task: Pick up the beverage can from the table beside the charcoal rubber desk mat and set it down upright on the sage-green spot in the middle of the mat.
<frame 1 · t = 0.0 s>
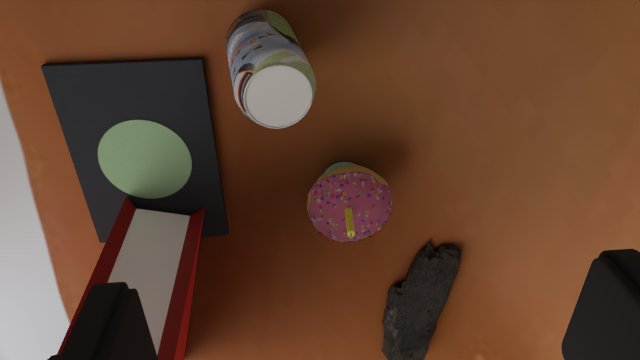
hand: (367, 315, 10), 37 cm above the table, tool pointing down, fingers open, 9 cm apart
beverage can: (268, 43, 44), on the table
desk mat: (147, 157, 49), on the table
cupcake: (344, 179, 52), on the table
book: (158, 291, 58), on the table, touching desk mat
wood: (411, 305, 64), on the table
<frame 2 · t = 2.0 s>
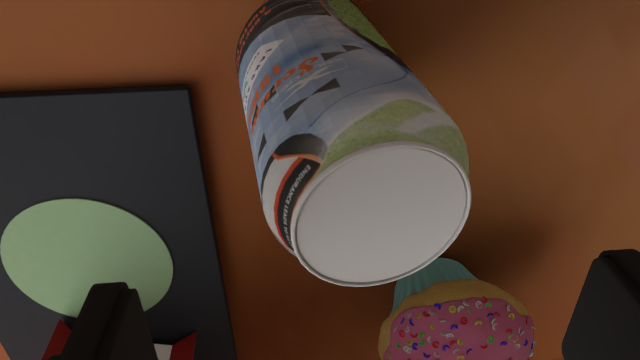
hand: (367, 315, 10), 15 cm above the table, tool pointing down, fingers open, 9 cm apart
beverage can: (319, 56, 22), on the table
desk mat: (93, 256, 28), on the table
cupcake: (433, 282, 31), on the table
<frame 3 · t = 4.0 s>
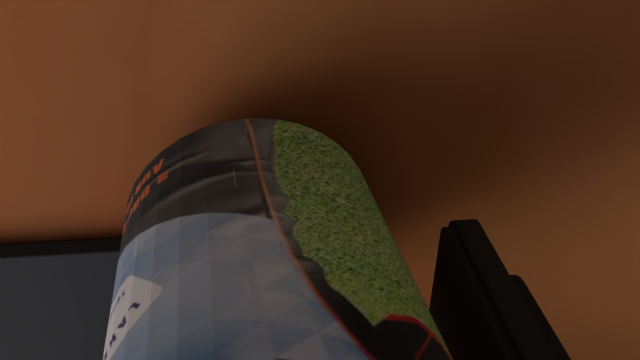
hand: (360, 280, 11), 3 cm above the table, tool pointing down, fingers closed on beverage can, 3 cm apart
beverage can: (279, 202, 14), on the table, touching gripper
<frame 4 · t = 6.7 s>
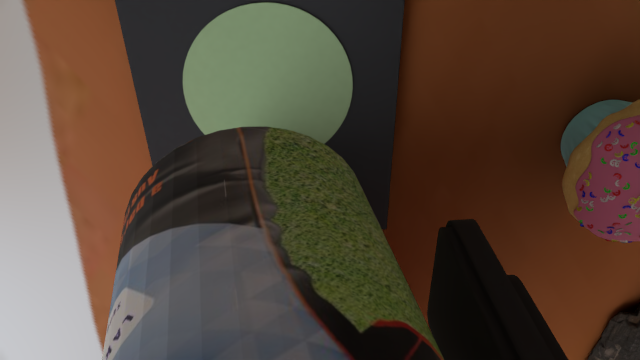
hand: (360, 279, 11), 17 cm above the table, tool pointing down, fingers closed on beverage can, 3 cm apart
beverage can: (277, 207, 14), point 14 cm above the table, touching gripper
desk mat: (269, 85, 27), on the table
cupcake: (599, 133, 30), on the table
wood: (631, 340, 41), on the table
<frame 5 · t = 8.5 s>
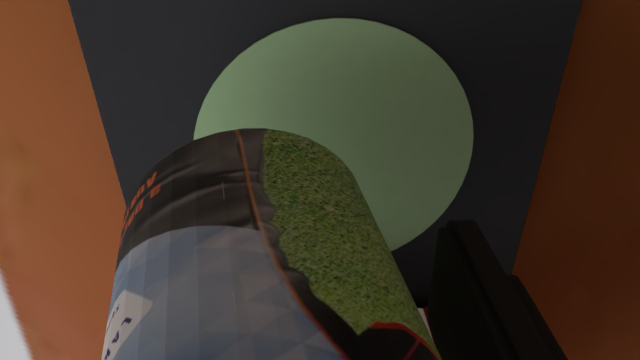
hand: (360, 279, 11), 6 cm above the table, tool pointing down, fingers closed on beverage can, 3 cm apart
beverage can: (276, 208, 14), point 3 cm above the table, touching gripper
desk mat: (333, 150, 16), on the table
when the fingers open (4 cm above the table, at t = 9.6 s): beverage can stays where it is, resting on desk mat.
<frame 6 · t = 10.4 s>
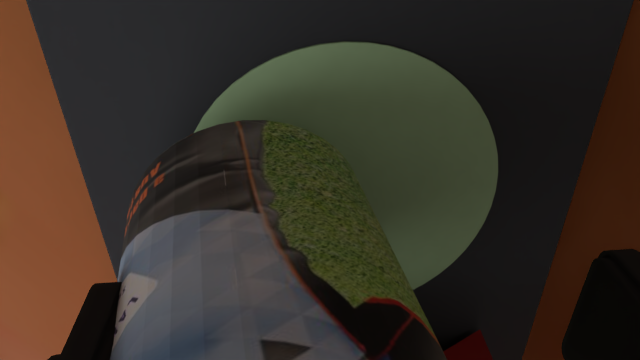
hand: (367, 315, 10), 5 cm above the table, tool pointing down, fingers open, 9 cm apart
beverage can: (276, 201, 14), point 1 cm above the table, touching desk mat
desk mat: (339, 185, 15), on the table
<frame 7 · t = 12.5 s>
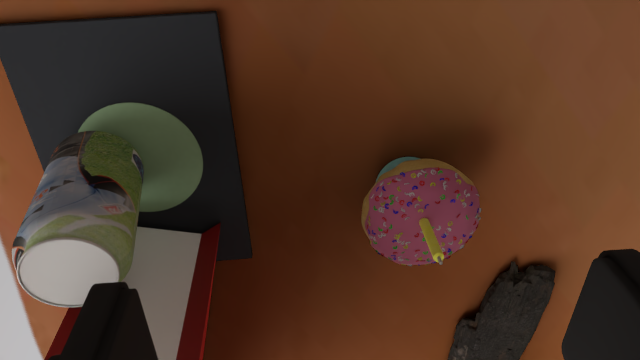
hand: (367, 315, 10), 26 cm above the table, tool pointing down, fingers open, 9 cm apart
beverage can: (114, 162, 36), point 1 cm above the table, touching desk mat
desk mat: (142, 156, 36), on the table
cupcake: (406, 180, 39), on the table
book: (162, 331, 45), on the table, touching desk mat
wood: (483, 341, 50), on the table
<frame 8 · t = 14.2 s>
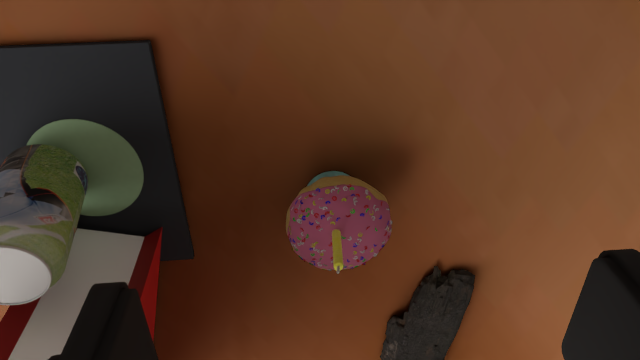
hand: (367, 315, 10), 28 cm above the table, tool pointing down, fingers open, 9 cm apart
beverage can: (62, 171, 39), point 1 cm above the table, touching desk mat
desk mat: (88, 166, 40), on the table
cupcake: (333, 192, 43), on the table
book: (113, 324, 49), on the table, touching desk mat
wood: (414, 337, 54), on the table
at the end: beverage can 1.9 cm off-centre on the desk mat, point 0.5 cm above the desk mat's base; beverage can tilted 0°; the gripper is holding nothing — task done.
